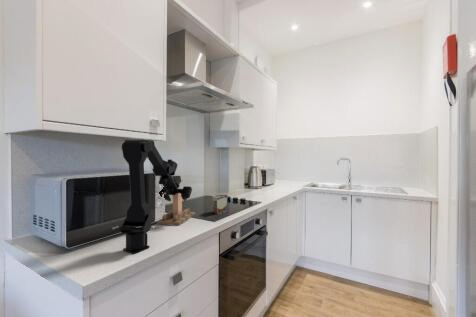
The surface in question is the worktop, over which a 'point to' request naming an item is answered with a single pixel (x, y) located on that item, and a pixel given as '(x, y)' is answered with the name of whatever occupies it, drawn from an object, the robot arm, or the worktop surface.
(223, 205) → the food container
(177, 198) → the clay strip
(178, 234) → the worktop surface
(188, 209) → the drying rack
